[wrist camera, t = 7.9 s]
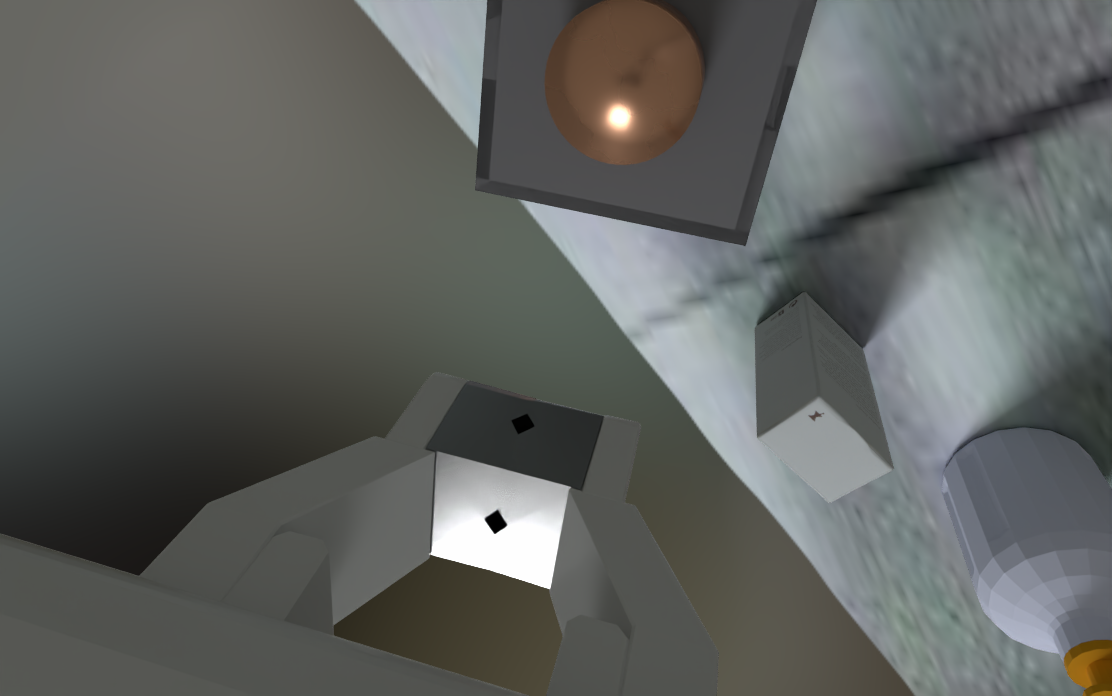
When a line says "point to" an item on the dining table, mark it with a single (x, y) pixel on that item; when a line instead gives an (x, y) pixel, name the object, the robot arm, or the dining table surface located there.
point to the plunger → (625, 80)
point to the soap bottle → (1039, 544)
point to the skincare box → (818, 400)
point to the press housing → (684, 169)
